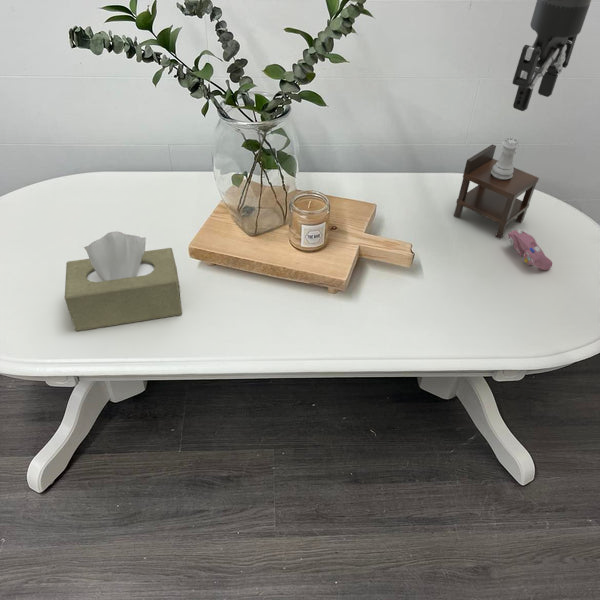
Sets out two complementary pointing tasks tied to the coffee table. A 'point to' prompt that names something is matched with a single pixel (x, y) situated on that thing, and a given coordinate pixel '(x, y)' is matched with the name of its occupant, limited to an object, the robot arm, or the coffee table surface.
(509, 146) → the rook chess piece
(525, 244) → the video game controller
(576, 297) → the coffee table surface
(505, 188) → the stand
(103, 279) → the tissue box
